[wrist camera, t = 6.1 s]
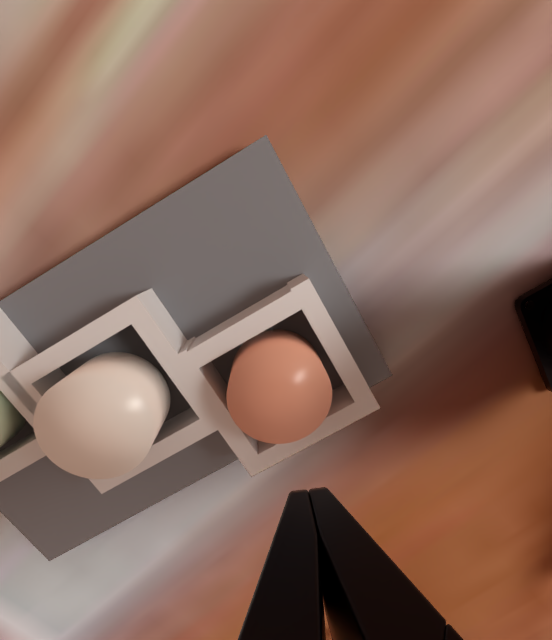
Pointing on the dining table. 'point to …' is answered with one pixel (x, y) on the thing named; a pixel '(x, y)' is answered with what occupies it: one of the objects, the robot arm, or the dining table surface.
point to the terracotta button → (278, 388)
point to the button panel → (178, 340)
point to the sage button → (9, 420)
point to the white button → (103, 416)
